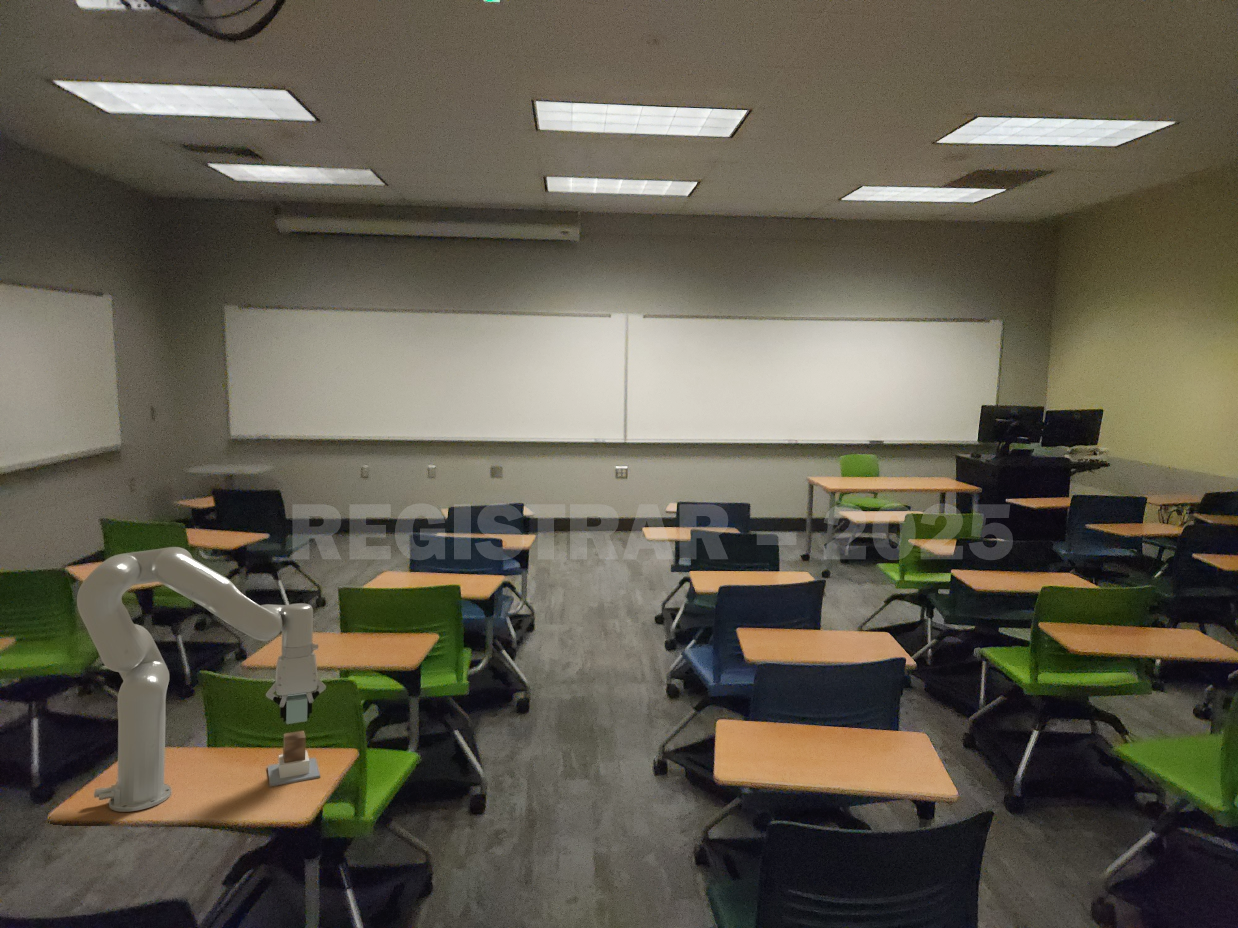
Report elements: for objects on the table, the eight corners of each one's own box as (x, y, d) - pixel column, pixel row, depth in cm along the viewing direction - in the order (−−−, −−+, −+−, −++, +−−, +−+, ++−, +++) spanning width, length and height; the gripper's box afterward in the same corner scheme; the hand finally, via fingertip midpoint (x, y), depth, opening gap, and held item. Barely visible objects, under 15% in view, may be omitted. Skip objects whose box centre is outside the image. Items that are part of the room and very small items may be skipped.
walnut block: (284, 763, 183) (285, 740, 183) (283, 755, 187) (283, 733, 187) (305, 759, 185) (305, 737, 185) (303, 752, 189) (303, 730, 189)
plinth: (269, 786, 178) (270, 771, 178) (267, 767, 188) (267, 752, 188) (320, 777, 184) (320, 762, 184) (315, 759, 194) (315, 745, 194)
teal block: (286, 724, 183) (286, 701, 182) (285, 717, 187) (285, 695, 187) (307, 720, 185) (307, 698, 185) (305, 714, 189) (305, 692, 189)
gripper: (329, 643, 193) (328, 708, 193) (260, 650, 185) (259, 718, 185) (332, 650, 187) (331, 717, 187) (261, 658, 178) (260, 728, 179)
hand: (296, 717), depth 186 cm, fingers closed on teal block, 4 cm apart
